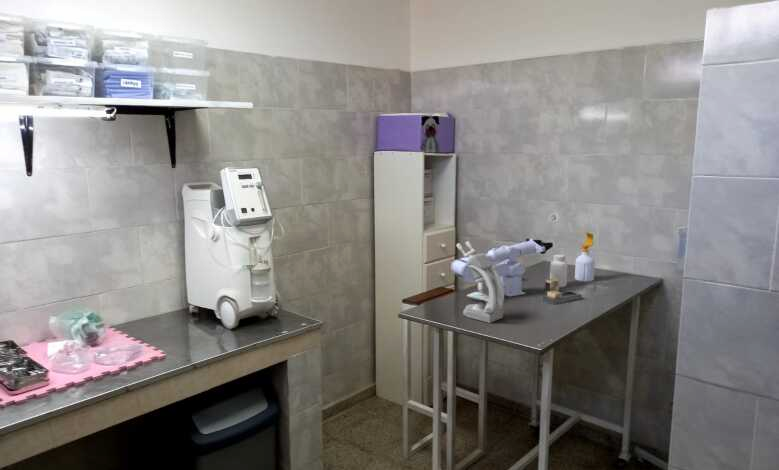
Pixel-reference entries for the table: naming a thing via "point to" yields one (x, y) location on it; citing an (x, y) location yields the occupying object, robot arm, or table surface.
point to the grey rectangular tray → (563, 297)
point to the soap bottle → (585, 262)
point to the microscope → (492, 301)
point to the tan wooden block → (551, 285)
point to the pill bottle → (559, 270)
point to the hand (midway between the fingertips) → (546, 243)
